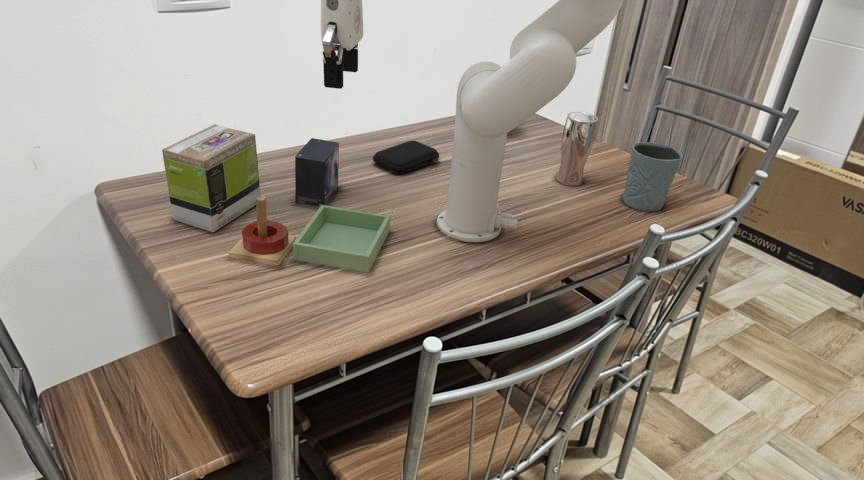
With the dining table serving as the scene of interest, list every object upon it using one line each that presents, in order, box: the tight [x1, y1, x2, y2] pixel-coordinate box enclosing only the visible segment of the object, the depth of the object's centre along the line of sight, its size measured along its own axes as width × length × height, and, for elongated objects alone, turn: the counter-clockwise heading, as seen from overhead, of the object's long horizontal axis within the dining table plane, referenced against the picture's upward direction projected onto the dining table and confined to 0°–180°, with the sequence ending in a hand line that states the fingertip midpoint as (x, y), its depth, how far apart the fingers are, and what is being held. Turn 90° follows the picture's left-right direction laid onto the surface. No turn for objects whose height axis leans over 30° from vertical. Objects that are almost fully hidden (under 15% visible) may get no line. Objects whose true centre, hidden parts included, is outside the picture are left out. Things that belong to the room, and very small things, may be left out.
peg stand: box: [228, 195, 297, 267], centre depth 119 cm, size 9×9×10 cm
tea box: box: [161, 123, 262, 233], centre depth 129 cm, size 15×10×15 cm, turn 154°
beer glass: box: [555, 111, 599, 187], centre depth 152 cm, size 7×7×15 cm
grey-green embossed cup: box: [622, 141, 683, 212], centre depth 145 cm, size 10×10×12 cm
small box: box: [294, 137, 340, 208], centre depth 139 cm, size 11×6×10 cm, turn 168°
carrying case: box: [372, 140, 440, 175], centre depth 157 cm, size 11×3×15 cm
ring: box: [241, 220, 289, 255], centre depth 121 cm, size 8×8×2 cm
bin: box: [292, 205, 391, 274], centre depth 124 cm, size 14×16×4 cm
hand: (341, 79), depth 118 cm, fingers open, 9 cm apart
